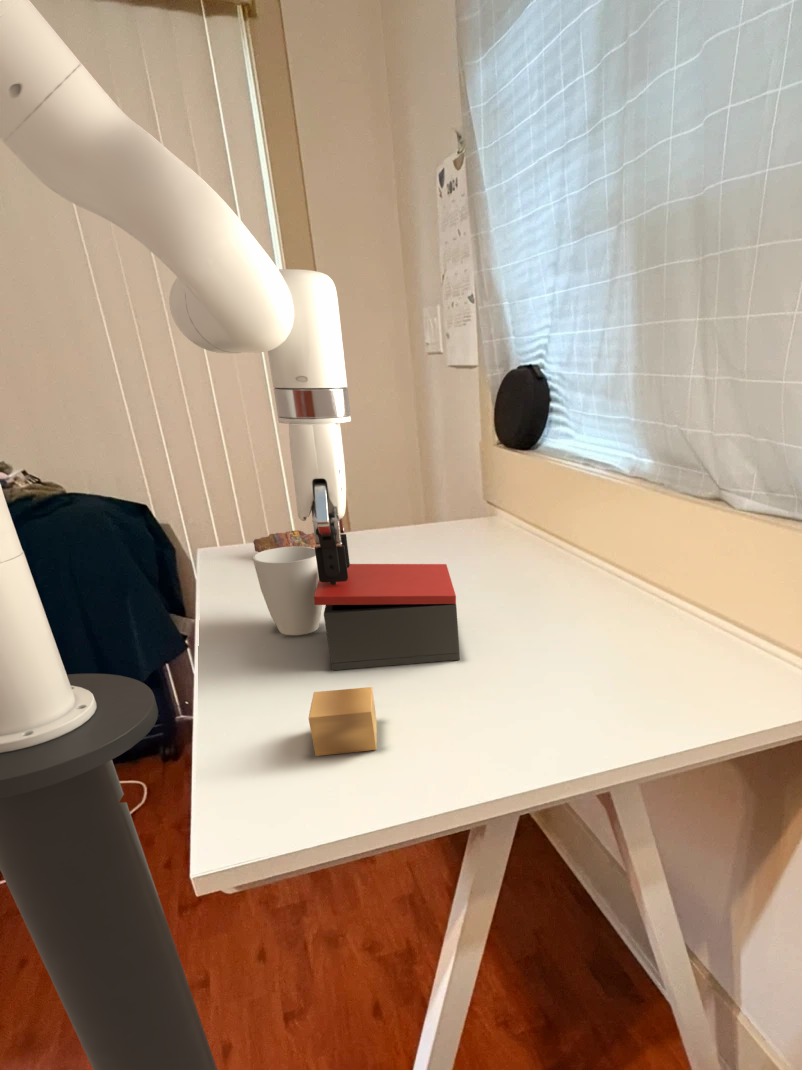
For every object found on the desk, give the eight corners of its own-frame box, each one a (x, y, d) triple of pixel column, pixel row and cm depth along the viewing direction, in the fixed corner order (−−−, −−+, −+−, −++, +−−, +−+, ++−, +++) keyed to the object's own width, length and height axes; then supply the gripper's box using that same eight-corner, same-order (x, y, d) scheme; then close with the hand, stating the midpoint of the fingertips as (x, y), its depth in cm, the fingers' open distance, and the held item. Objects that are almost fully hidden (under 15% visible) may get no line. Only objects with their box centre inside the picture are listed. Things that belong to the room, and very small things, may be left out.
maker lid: (314, 605, 78) (310, 558, 76) (323, 571, 90) (320, 530, 88) (456, 604, 81) (455, 559, 79) (446, 571, 93) (446, 531, 91)
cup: (300, 615, 99) (288, 543, 94) (343, 624, 96) (333, 551, 91) (254, 633, 93) (238, 557, 88) (298, 643, 89) (284, 566, 85)
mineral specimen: (262, 562, 118) (251, 523, 118) (261, 575, 125) (251, 539, 125) (334, 552, 123) (324, 514, 123) (329, 566, 130) (319, 530, 130)
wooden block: (315, 756, 64) (308, 717, 63) (319, 728, 69) (313, 691, 67) (376, 750, 65) (371, 711, 64) (377, 723, 70) (372, 686, 68)
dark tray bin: (332, 670, 82) (323, 613, 79) (338, 629, 94) (331, 579, 91) (460, 659, 84) (456, 604, 81) (450, 621, 96) (446, 571, 93)
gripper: (285, 403, 82) (308, 558, 90) (265, 412, 67) (295, 597, 75) (351, 402, 83) (368, 555, 92) (346, 412, 69) (367, 593, 77)
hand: (335, 572), depth 84 cm, fingers closed on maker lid, 5 cm apart
